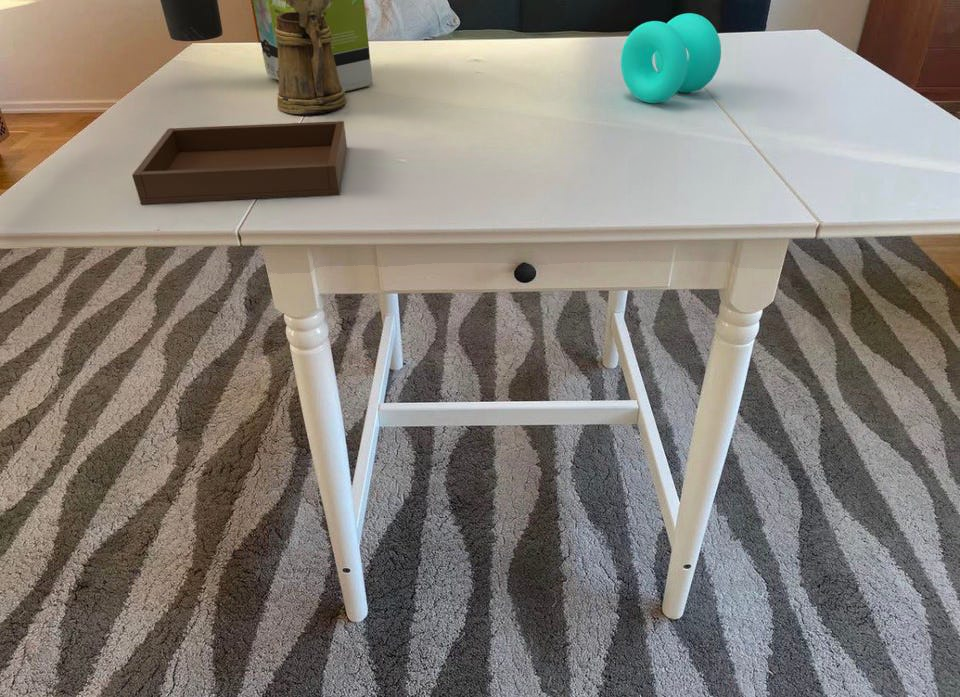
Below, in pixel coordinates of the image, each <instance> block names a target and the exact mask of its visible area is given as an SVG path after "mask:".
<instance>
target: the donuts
mask: <svg viewBox="0 0 960 697" xmlns="http://www.w3.org/2000/svg"><path fill="white" fill-rule="evenodd" d="M653 58H654V63H655V66H654V63H653ZM721 60H722V44H721V40H720V36H719V33H718V32H717V30H716V28H715V26H714V25H713V24H712V23H711V21H710V20H709V19H707V18H706V17H704V16H702V15H700V14H697V13H693V12H687V13H681V14H678V15H676V16H674V17H673V18H671V19H670V20H668V22H664V21H658V20H651V21H646V22H643V23H641V24H640V25H638V26H636V27H635V28H634V29H633V30H632V31H631V32H630V33H629V35H628V36H627V38H626V39H625V41H624V44H623V46H622V50H621V55H620V71H621V75H622V78H623V81H624V83H625V86H626V87H627V89H628V90H629V92H630V93H631V95H633V96H634V97H635V98H637V99H638V100H640V101H642V102H644V103H649V104H659V103H663V102H666V101H668V100H670V99H671V98H672V97H673V96H675V94H676V93H678V92H679V93H685V94H687V93H688V94H689V93H693V92H697V91H699V90H701V89H703V88H705V87H706V86H707V85H708V84H709V83H711V81H712V80H713V78H714V77H715V76H716V74H717V71H718V69H719V67H720V63H721Z"/></svg>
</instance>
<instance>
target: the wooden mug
mask: <svg viewBox="0 0 960 697" xmlns="http://www.w3.org/2000/svg"><path fill="white" fill-rule="evenodd" d="M330 2H331V0H286V3H287V4H288V5H289V6H290V7H292V8H293V9H294V10H296V11H297V12H284V13H280V14H279V15H277V16H276V18H277V27H276V28H275V39H276V41H277V44H278V76H279V80H278V92H277V95H276V96H277V97H276V99H277V109H278V110H280V112H281V111H282V112H284V113H287V114H291V115H301V116H305V115H309V116H311V115H318V114H324V113H331V112H333V111H337V110H339V109H342V108H343V107H345V106H346V103H347V96H346V91H345V92H344V89H343V87H341V84H340V80H339V76H338V72H337V68H336V64H335V60H334V56H333V53H332V48H331V41H332V39H333V38H332V35H331V32H330V29H329V26H328V25H326V21H325V17H324V15H323V14H322V12H323V10H324V9H325V8H326V7H327V6H328V5H329V3H330Z"/></svg>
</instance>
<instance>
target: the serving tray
mask: <svg viewBox="0 0 960 697" xmlns="http://www.w3.org/2000/svg"><path fill="white" fill-rule="evenodd" d="M347 144H348V143H347V137H346V127H345V121H344V120H339V121H338V120H336V121H315V122H314V121H313V122H291V123H290V122H287V123H266V124H244V125H243V124H242V125H241V124H240V125H220V126H218V125H217V126H216V125H215V126H194V127H192V126H191V127H173V128H172V127H171V128H170V127H169V128H167V129H166V131H165V132H164V133H163V135H162V136H161V137H160V138H159V140H158V141H157V142H156V143H155V145H154V146H153V148H152V149H151V150H150V151H149V153H148V154H147V155H146V156H145V157H144V159H143V160H142V161H141V163H140V164H139V166H138V167H137V168H136V169H135V171H134V172H132V174H131V176H132V179H133V182H134V186H135V189H136V193H137V196H138V199H139V202H140V205H152V204H155V205H156V204H173V203H194V202H195V203H196V202H214V201H234V200H235V201H236V200H238V201H239V200H252V199H253V200H254V199H277V198H278V199H279V198H298V197H317V196H319V197H321V196H338V195H340V191H341V185H342V179H343V173H344V167H345V161H346V155H347V150H348V145H347Z"/></svg>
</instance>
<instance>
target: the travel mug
mask: <svg viewBox="0 0 960 697" xmlns="http://www.w3.org/2000/svg"><path fill="white" fill-rule="evenodd" d="M160 4H161V9H162V12H163V15H164V19H165V23H166V26H167V27H166V28H167V30H168V34H169V37H170V39H172V40H173V41H178V42H200V41H208V40H213V39H217V38H219V37H221V36H223V32H224V31H223V25H222V19H221V14H220V7H219V2H218V0H160Z"/></svg>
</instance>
